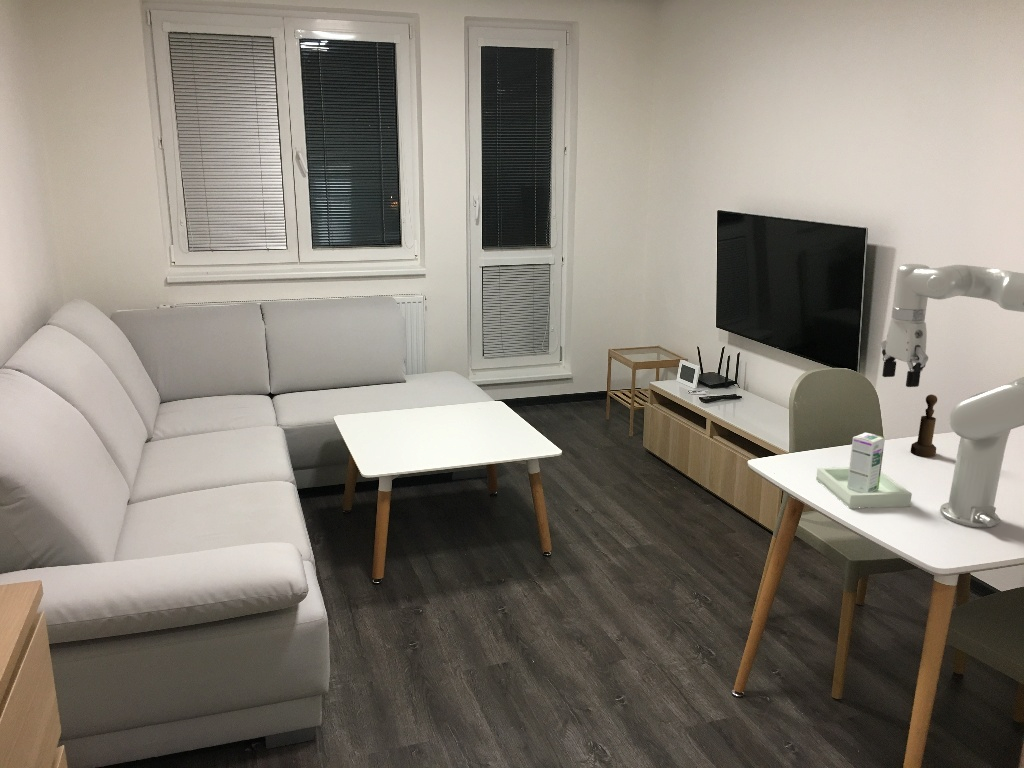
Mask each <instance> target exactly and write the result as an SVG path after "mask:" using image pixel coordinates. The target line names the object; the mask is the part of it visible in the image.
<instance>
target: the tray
mask: <svg viewBox="0 0 1024 768" xmlns="http://www.w3.org/2000/svg"><path fill="white" fill-rule="evenodd" d="M849 467H850V466H844V467H843V466H842V467H837V466H835V467H817V468H816V469H817V470H816V476H815V481H816V480H817V481H816V482H818V481H819V482H820V483H821V484H822V485H824V486H825V487H826V488H827V489H828V490H829V491H830V492H831V494H832V495H833V496H834V495H835V496H836V497H837V498H838V499H837V498H836V497H835V496H834V497H835V498H836V499H837V500H839V499H840V500H841V501H840V500H839V501H840V502H841V503H842V502H843V503H844V504H845V505H844V504H843V503H842V504H843V505H844V506H846V507H847V506H848V507H849V508H848V507H847V508H848V509H865V508H864V507H868V508H867V509H871V507H875V508H900V507H901V508H902V507H905V508H906V507H911V503H912V495H913V493H912V492H911V491H910V490H908V489H907V488H905V487H904V486H902V485H901V484H899V483H898V482H896V481H895V480H894V479H893V478H891V477H889V475H887V474H885V473H884V472H883V471H881V473H880V481H879V489H878V490H876V491H874V492H872V493H859V492H856V491H853V490H851V489H848V488H847V484H848V475H849ZM819 482H818V483H819ZM820 483H819V484H820ZM821 484H820V485H821ZM822 485H821V486H822ZM825 487H824V488H825ZM826 488H825V489H826ZM827 489H826V490H827ZM828 490H827V491H828ZM829 491H828V492H829ZM830 492H829V493H830ZM859 507H860V508H859ZM875 508H874V509H875Z"/></svg>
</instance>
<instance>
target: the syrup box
mask: <svg viewBox="0 0 1024 768" xmlns="http://www.w3.org/2000/svg"><path fill="white" fill-rule="evenodd" d="M885 440H886V438H885V437H883V436H881V435H878V434H874V433H869V432H863V433H861V434H858V435H855V436H853V437H852V440H851V441H852V444H851V451H850V459H849V466H848V467H849V475H848V484H847V488H848V489H851V490H853V491H856V492H859V493H872V492H874V491H876V490H878V489H879V481H880V473H881V472H882V464H883V457H884V448H885Z"/></svg>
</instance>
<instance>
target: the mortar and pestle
mask: <svg viewBox="0 0 1024 768" xmlns="http://www.w3.org/2000/svg"><path fill="white" fill-rule="evenodd" d="M925 402H926V405H927V408H925V415H921V417H920V422H919V430H918V436H917V441H915V442H913V443H911V446H910V453H911V454H913V455H915V456H918V457H923V458H925V457H926V458H933V457H935V456H936V453H937V447H936V446H935V445H934V444H933V439H934V433H935V426H936V422H937V418H936V417H934V416H933V415H934V413H935V409H934V406H935V405H936V404H937V403H938V397H937V396H936V395H935V394H928V395H927V396H925Z"/></svg>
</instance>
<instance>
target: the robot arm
mask: <svg viewBox="0 0 1024 768" xmlns="http://www.w3.org/2000/svg"><path fill="white" fill-rule="evenodd" d="M894 284H895V285H894V286H895V287H894V294H893V303H892V310H891V318H890V322H889V326H888V330H887V334H886V339H885V340H883V341H881V342H880V343H881V350H882V351H881V353H882V361H883V367H882V375H881V376H882V377H883V378H891V377H895V376H896V375H895V374H896V370H897V369H896V368H897V361H896V360H898V361H901V362H905V363H906V364H907V366H908V369H909V370H908V371H907V373H906V382H905V387H906V388H917V387H919V386H920V378H921V372H923V370H924V368H926V364H927V362H928V361H929V356H928V354H926V350H927V333H928V332H927V322H926V320H925V319H926V314H927V306H928V301H929V299H933V300H938V301H939V300H946V299H950V298H953V297H959V296H960V297H967V298H975V299H982V300H988V301H990V302H994V303H996V304H997V305H998V306H999V307H1000V308H1002V309H1003V310H1005V311H1006V310H1007V311H1011V312H1020V313H1024V272H1018V271H1011V270H1002V269H998V268H993V267H985V266H975V265H974V266H973V265H968V264H967V265H966V264H952V265H946V266H942V267H931V268H930V267H929V266H928V265H926V264H918V263H904V264H901V265H899V267H897V269H896V277H895V283H894ZM948 420H949V426H950V428H951V431H953V433H954V434H956V435H957V436H958V437H960V439H959V443H958V448H957V454H956V458H955V464H954V465H955V466H954V469H953V474H952V475H953V477H952V482H951V487H950V492H949V493H950V494H949V498H948V499H949V500H948V502H945V503H943V504H942V505H940V509H939V512H940V514H941V515H942V516H943V517H944V518H946V519H947V520H950V521H951V522H954V523H955V524H956V523H957V524H959V525H963V526H966V527H971V528H972V527H973V528H980V529H981V528H984V529H985V528H993V527H996V526H997V525H998V524H999V523H1000V522H1001V518H1000V517H999V515H998V514H997V513H996V512H997V511H996V510H997V508H996V506H995V503H996V497H997V491H998V487H999V481H1000V476H1001V471H1002V465H1003V461H1004V457H1005V451H1006V447H1007V444H1008V439H1009V437H1010V433H1011V430H1014V429H1017V428H1020V427H1023V426H1024V376H1023V377H1019V378H1017V379H1014V380H1012V381H1010V382H1008V383H1006V384H1004V385H1001V386H998V387H995V388H992V389H990V390H987V391H982V392H979V393H976V394H973V395H971V396H969V397H967V398H965V399H962V400H961V401H959V402H958V403H956V405H954V407H953V408H952V409H951V410H950V414H949V419H948Z"/></svg>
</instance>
